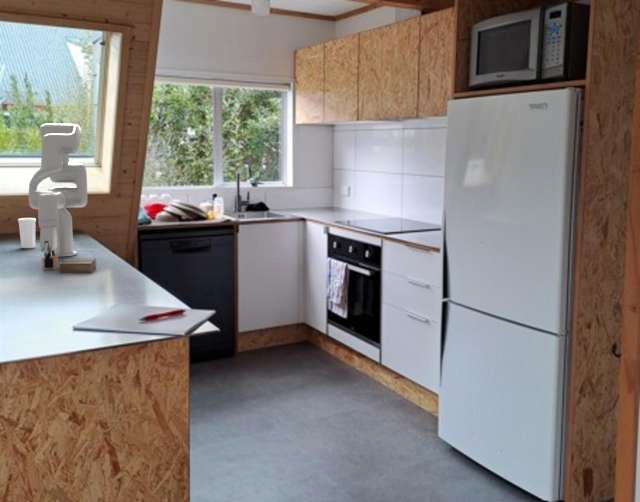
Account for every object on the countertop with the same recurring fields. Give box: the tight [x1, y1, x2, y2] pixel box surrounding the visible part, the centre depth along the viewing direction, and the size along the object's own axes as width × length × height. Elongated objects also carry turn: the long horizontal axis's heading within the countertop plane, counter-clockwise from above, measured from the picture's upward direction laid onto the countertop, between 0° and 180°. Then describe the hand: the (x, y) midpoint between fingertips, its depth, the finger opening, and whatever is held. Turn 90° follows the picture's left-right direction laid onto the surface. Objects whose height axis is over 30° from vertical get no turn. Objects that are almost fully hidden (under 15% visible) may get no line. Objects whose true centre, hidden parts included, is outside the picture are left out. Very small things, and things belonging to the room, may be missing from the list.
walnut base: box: [58, 257, 97, 274], centre depth 273 cm, size 12×12×4 cm
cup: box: [17, 217, 37, 249], centre depth 322 cm, size 8×8×14 cm
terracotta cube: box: [41, 256, 59, 271], centre depth 276 cm, size 5×5×5 cm
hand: (50, 266), depth 276 cm, fingers closed on terracotta cube, 5 cm apart
